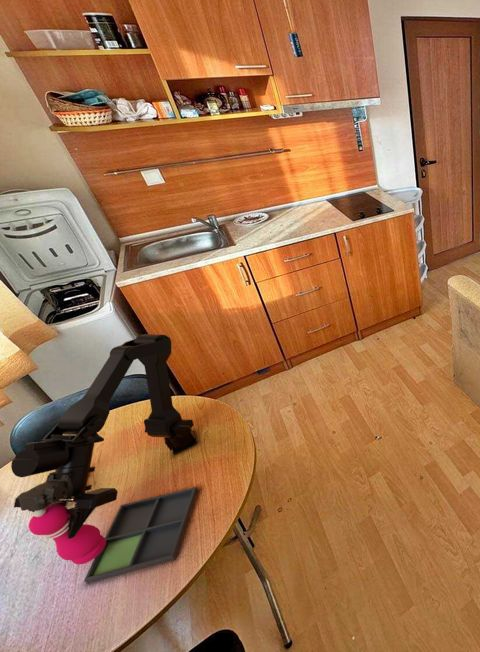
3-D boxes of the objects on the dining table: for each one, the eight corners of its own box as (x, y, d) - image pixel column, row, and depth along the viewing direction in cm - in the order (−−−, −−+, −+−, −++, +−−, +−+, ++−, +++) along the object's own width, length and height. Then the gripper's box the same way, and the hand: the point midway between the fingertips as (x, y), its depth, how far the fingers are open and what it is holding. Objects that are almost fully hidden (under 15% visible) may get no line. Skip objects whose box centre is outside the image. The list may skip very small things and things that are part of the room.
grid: (124, 508, 103) (120, 505, 102) (198, 490, 107) (195, 487, 106) (87, 583, 88) (83, 580, 87) (175, 559, 92) (172, 556, 91)
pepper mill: (86, 535, 94) (34, 494, 82) (116, 533, 94) (68, 492, 83) (62, 568, 88) (3, 529, 77) (94, 566, 88) (40, 527, 77)
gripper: (-9, 474, 79) (-27, 554, 77) (76, 475, 79) (60, 556, 76) (50, 461, 90) (36, 531, 88) (124, 462, 90) (112, 532, 87)
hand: (60, 537), depth 84 cm, fingers closed on pepper mill, 5 cm apart
